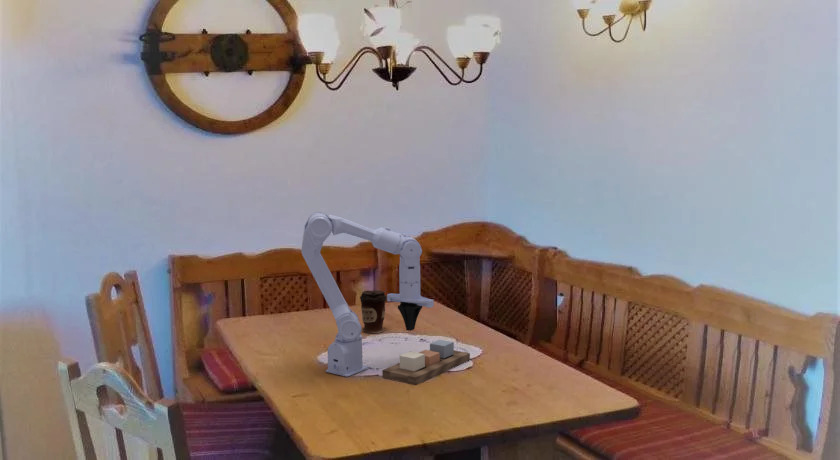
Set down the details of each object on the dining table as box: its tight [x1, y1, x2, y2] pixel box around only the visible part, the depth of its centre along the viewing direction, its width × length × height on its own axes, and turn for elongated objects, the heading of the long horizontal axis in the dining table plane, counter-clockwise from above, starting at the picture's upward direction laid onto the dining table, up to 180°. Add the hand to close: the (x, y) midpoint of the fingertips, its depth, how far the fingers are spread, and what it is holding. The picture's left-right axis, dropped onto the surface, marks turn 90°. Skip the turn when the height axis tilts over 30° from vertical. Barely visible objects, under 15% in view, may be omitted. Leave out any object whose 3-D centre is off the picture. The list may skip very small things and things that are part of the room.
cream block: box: [399, 350, 425, 371], centre depth 214 cm, size 5×5×4 cm
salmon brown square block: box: [418, 349, 440, 366], centre depth 220 cm, size 5×5×4 cm
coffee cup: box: [359, 289, 387, 334], centre depth 258 cm, size 9×8×13 cm
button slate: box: [429, 339, 455, 358], centre depth 225 cm, size 5×5×4 cm
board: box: [381, 350, 471, 386], centre depth 220 cm, size 26×11×2 cm, turn 144°
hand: (410, 329), depth 221 cm, fingers closed
